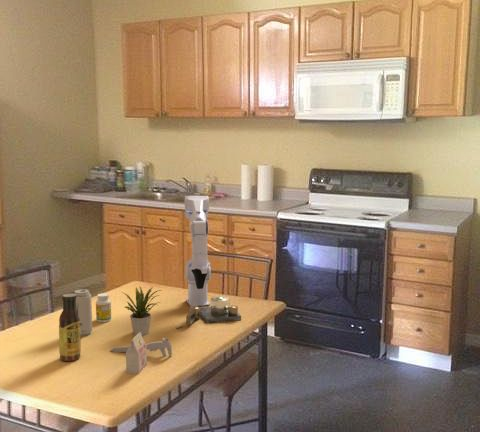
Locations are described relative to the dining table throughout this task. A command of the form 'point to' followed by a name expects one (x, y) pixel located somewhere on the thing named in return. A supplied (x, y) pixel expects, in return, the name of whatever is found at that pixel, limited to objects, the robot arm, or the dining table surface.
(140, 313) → the house plant
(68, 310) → the sauce bottle
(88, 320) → the energy drink can
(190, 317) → the ball-topped bar
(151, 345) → the caliper
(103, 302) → the supplement bottle
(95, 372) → the dining table surface
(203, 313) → the levelling base
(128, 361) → the paper snack bag
